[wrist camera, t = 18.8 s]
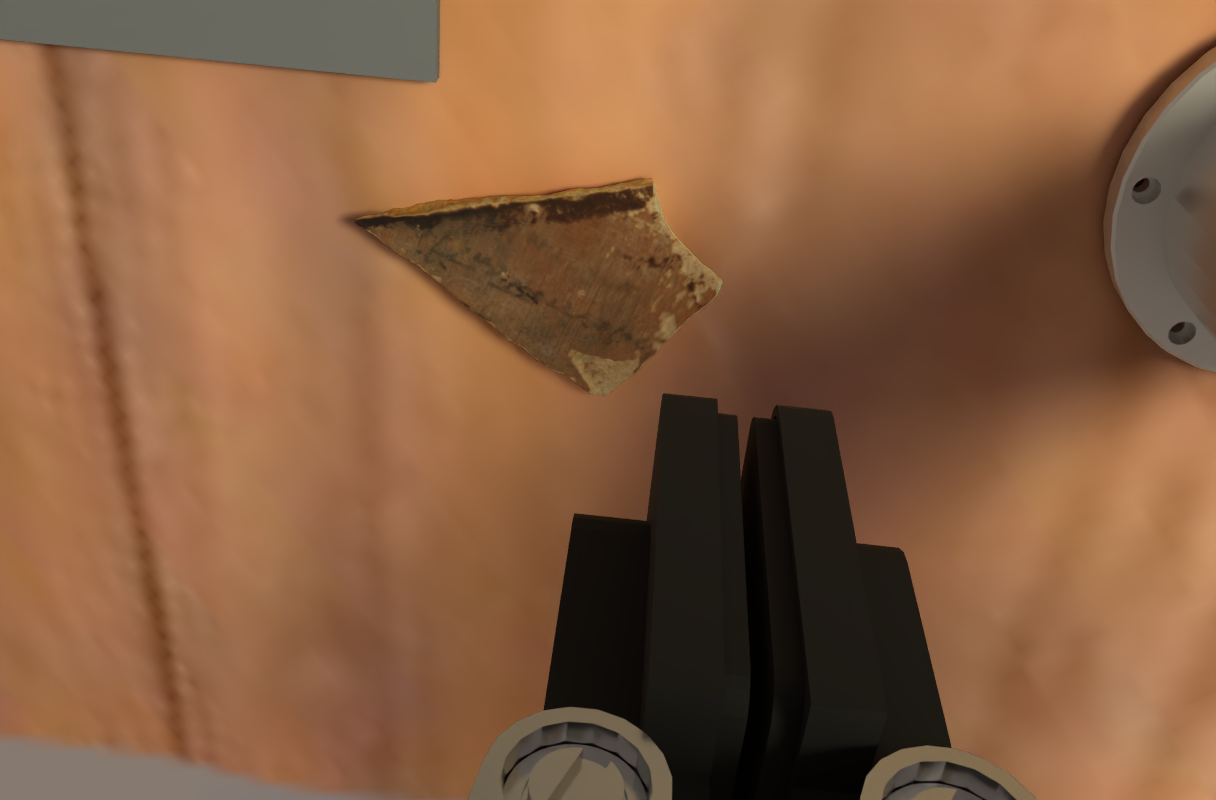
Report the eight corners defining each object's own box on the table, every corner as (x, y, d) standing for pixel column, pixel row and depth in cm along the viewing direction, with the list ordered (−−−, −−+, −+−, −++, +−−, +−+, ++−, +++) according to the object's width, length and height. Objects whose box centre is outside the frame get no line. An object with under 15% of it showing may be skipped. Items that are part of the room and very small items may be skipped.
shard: (363, 204, 40) (349, 225, 38) (497, 36, 37) (488, 51, 35) (601, 387, 43) (598, 413, 42) (745, 248, 40) (746, 270, 38)
